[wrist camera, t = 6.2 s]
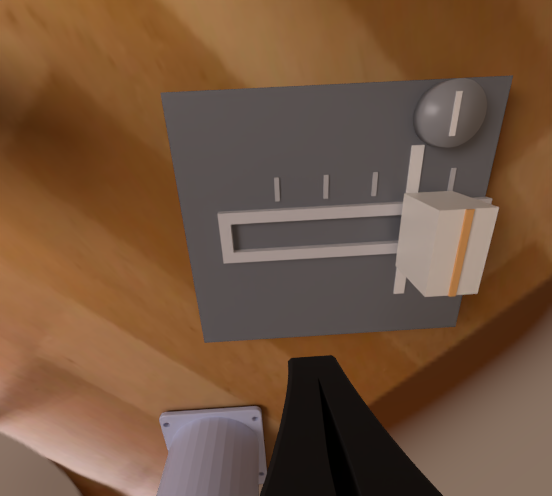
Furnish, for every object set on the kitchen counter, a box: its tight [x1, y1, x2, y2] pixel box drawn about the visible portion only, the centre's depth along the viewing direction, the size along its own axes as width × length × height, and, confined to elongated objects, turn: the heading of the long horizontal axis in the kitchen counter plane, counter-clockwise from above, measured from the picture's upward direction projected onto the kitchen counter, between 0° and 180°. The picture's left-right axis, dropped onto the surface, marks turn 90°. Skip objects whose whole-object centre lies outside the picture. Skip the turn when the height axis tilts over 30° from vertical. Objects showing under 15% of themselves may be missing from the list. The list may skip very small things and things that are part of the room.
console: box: [161, 76, 513, 343], centre depth 16 cm, size 14×16×3 cm
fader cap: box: [395, 191, 499, 297], centre depth 14 cm, size 4×2×4 cm, turn 3°
